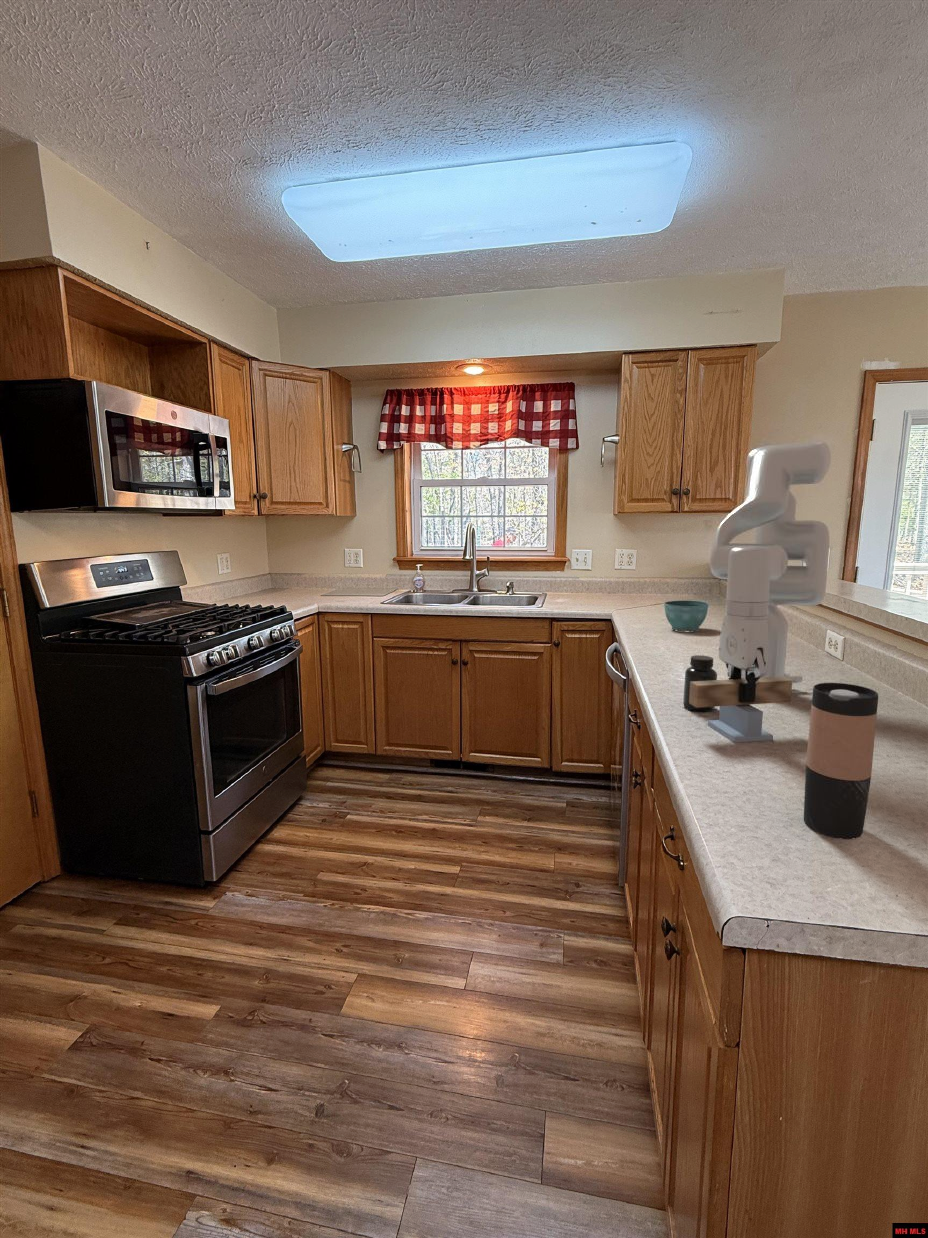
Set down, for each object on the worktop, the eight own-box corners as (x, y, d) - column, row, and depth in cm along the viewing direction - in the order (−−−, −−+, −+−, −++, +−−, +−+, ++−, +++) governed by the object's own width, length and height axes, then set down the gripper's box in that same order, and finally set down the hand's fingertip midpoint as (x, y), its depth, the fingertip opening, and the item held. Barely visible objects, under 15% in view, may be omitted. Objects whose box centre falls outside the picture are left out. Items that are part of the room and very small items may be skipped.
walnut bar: (781, 697, 120) (782, 676, 119) (790, 702, 117) (792, 680, 116) (689, 703, 117) (690, 681, 117) (696, 707, 114) (697, 685, 114)
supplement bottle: (695, 714, 130) (698, 662, 128) (677, 705, 136) (679, 655, 134) (721, 710, 131) (724, 659, 129) (702, 702, 138) (704, 653, 136)
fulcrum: (743, 723, 123) (744, 695, 122) (772, 740, 114) (774, 711, 113) (707, 725, 123) (709, 697, 122) (734, 742, 113) (736, 713, 112)
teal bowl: (663, 633, 220) (664, 605, 218) (662, 626, 235) (663, 599, 234) (709, 635, 216) (710, 606, 214) (705, 627, 231) (706, 600, 229)
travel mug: (840, 811, 86) (853, 681, 82) (878, 839, 78) (894, 697, 75) (790, 813, 86) (800, 683, 82) (823, 841, 78) (836, 699, 75)
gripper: (706, 604, 121) (702, 688, 125) (753, 616, 105) (747, 713, 108) (740, 603, 122) (735, 687, 125) (792, 615, 106) (784, 711, 109)
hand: (741, 698), depth 117 cm, fingers closed on walnut bar, 3 cm apart
